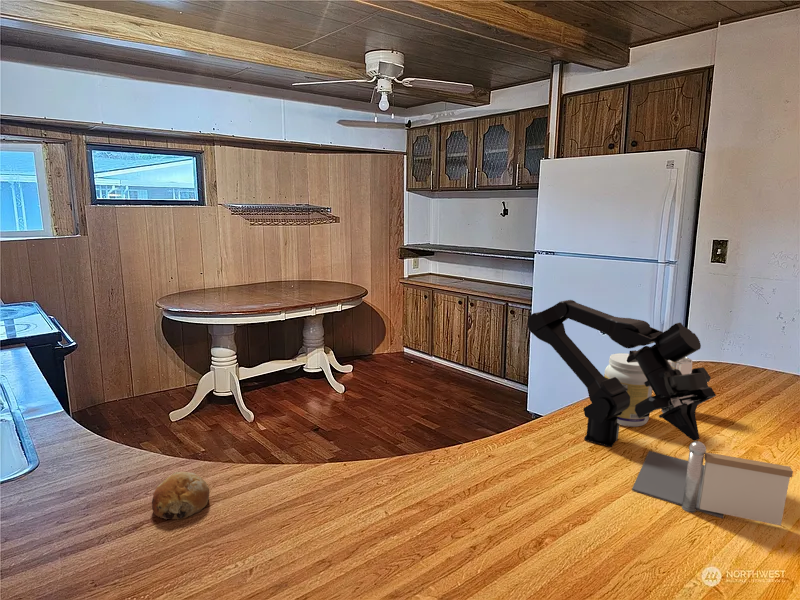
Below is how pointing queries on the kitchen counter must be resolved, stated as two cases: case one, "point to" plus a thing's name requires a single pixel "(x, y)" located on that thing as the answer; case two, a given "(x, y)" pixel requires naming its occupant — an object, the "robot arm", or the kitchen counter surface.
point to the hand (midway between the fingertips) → (696, 440)
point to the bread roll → (180, 496)
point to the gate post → (693, 476)
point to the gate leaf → (744, 488)
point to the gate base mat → (666, 479)
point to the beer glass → (682, 365)
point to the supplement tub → (629, 387)
